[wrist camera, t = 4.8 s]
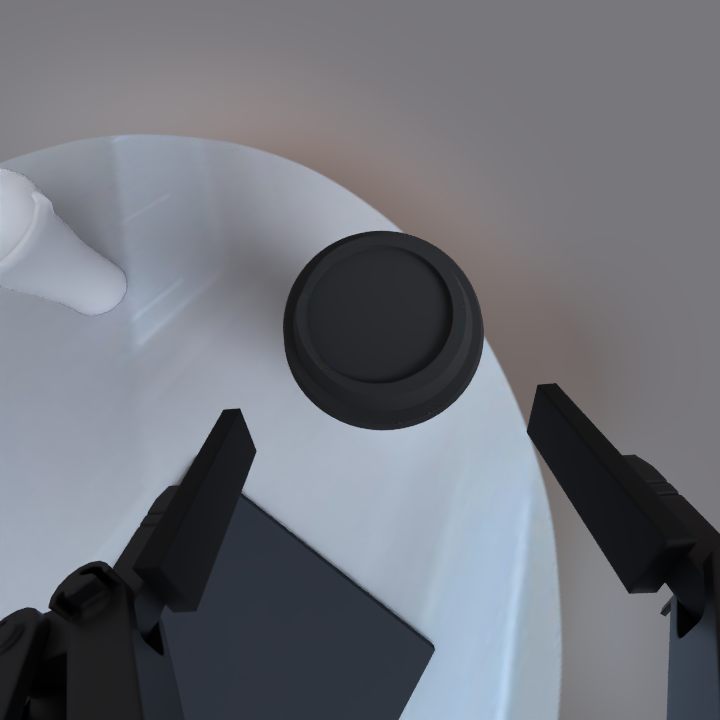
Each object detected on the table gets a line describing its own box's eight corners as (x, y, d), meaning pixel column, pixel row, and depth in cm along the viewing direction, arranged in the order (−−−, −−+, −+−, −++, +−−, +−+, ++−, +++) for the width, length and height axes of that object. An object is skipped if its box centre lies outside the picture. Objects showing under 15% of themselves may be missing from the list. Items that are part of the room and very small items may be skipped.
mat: (434, 645, 22) (435, 650, 21) (261, 972, 18) (258, 986, 18) (200, 460, 26) (197, 461, 25) (28, 701, 23) (20, 706, 22)
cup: (155, 309, 30) (42, 248, 20) (61, 342, 30) (-97, 297, 20) (140, 233, 32) (33, 145, 22) (54, 264, 32) (-92, 188, 22)
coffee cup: (417, 314, 27) (453, 177, 13) (453, 414, 25) (546, 385, 11) (318, 344, 28) (243, 241, 13) (346, 446, 25) (292, 461, 11)
